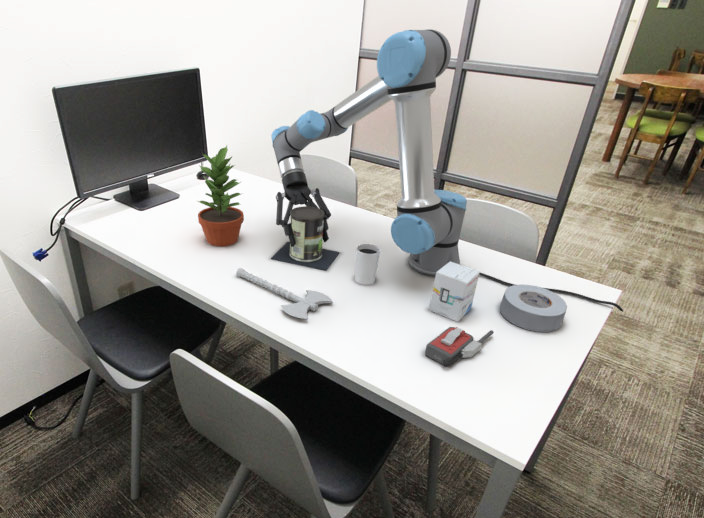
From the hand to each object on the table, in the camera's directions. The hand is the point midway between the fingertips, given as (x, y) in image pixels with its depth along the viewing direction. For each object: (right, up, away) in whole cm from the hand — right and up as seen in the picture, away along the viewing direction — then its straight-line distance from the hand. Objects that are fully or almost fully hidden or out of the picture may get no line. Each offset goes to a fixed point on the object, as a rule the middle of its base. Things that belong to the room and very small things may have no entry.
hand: (310, 242), depth 150 cm
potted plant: (-29, +2, +13) cm, 32 cm away
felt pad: (-1, -4, +5) cm, 7 cm away
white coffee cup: (+16, -12, -6) cm, 21 cm away
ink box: (+37, -20, -18) cm, 46 cm away
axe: (-9, -16, -14) cm, 23 cm away
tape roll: (+58, -21, -19) cm, 65 cm away
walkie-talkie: (+35, -29, -32) cm, 55 cm away
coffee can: (-1, -3, +5) cm, 6 cm away
